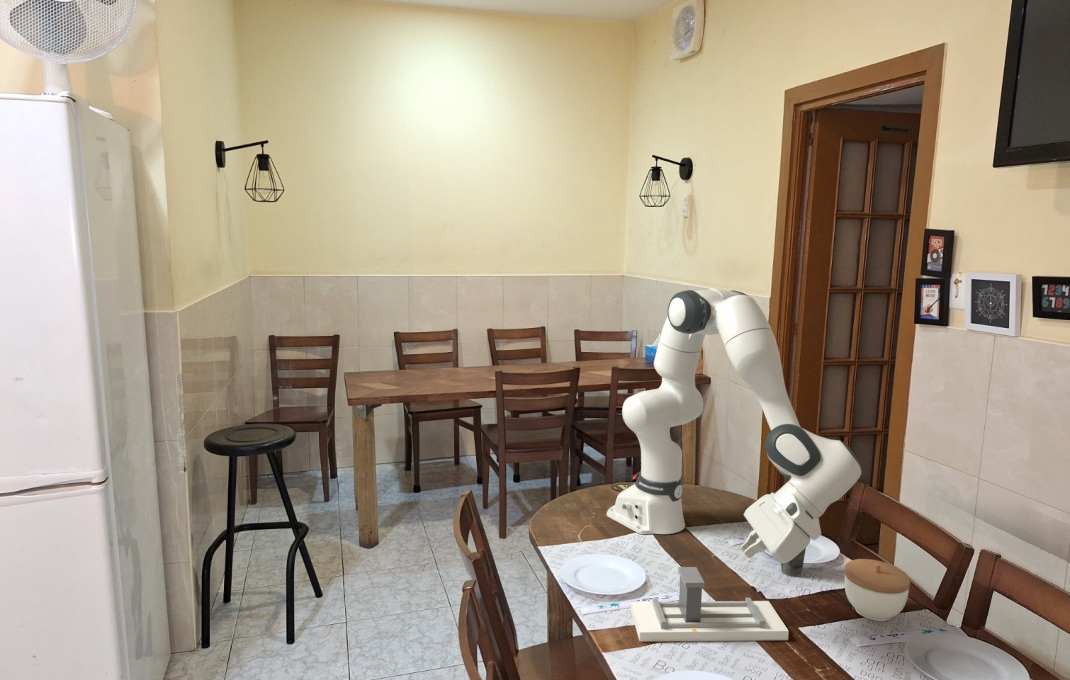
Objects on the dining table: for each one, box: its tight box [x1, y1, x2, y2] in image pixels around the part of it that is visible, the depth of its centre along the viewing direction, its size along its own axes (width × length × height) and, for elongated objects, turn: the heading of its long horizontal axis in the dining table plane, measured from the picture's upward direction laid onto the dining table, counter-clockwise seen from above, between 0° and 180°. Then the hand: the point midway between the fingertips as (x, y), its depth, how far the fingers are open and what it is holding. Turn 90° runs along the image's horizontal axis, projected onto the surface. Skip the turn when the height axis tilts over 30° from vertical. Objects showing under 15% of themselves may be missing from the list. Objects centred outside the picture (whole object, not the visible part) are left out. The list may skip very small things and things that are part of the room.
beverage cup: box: [780, 547, 807, 578], centre depth 159 cm, size 7×7×20 cm
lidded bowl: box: [843, 558, 911, 622], centre depth 143 cm, size 13×13×11 cm
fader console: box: [630, 597, 789, 643], centre depth 139 cm, size 30×11×4 cm, turn 91°
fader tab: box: [677, 566, 705, 623], centre depth 138 cm, size 4×6×9 cm, turn 1°
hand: (744, 553), depth 137 cm, fingers closed
